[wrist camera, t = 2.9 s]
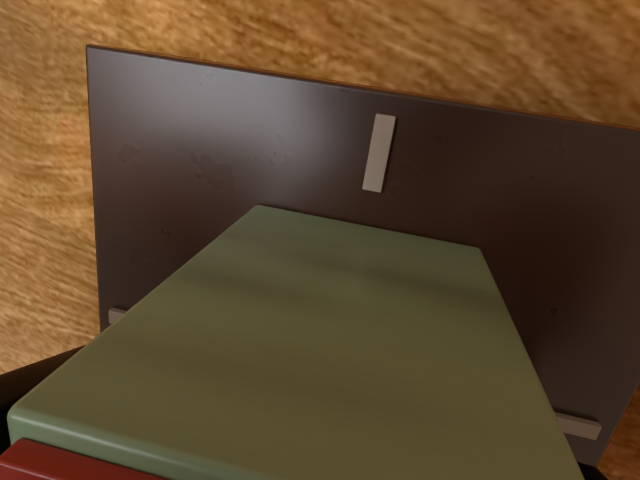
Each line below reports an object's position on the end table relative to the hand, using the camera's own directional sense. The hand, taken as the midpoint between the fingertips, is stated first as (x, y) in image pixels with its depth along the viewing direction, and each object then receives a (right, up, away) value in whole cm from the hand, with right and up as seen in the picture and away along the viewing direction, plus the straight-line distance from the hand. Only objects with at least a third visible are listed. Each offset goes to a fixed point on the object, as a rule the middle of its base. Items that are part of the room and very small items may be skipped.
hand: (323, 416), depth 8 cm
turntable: (+1, +1, +3) cm, 4 cm away
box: (0, +1, +1) cm, 1 cm away
